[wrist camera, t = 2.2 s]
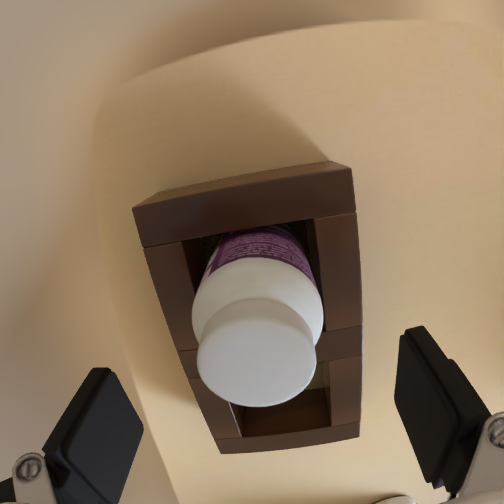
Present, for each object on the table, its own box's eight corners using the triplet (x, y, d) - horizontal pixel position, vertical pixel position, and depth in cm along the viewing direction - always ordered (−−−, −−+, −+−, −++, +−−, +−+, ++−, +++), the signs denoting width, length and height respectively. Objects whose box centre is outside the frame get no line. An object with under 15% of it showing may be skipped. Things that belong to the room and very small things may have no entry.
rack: (157, 192, 18) (131, 207, 14) (332, 160, 17) (351, 167, 13) (225, 416, 24) (220, 454, 20) (349, 399, 23) (359, 437, 19)
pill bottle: (202, 225, 19) (150, 311, 9) (295, 205, 18) (327, 278, 9) (226, 307, 20) (203, 426, 11) (310, 290, 20) (342, 406, 11)
